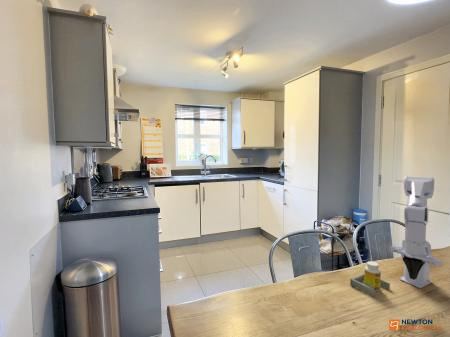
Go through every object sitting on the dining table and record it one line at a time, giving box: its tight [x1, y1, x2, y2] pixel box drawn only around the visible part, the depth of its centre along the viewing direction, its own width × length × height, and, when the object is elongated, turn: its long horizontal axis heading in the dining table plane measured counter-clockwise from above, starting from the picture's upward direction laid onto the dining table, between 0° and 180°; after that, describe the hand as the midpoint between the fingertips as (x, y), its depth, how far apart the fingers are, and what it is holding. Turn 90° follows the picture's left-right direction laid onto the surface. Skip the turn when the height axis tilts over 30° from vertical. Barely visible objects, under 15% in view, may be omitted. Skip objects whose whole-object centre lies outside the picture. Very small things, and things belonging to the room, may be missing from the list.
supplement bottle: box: [363, 261, 382, 292], centre depth 100 cm, size 6×6×10 cm
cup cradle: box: [349, 272, 391, 298], centre depth 101 cm, size 11×10×2 cm
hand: (413, 278), depth 87 cm, fingers closed
